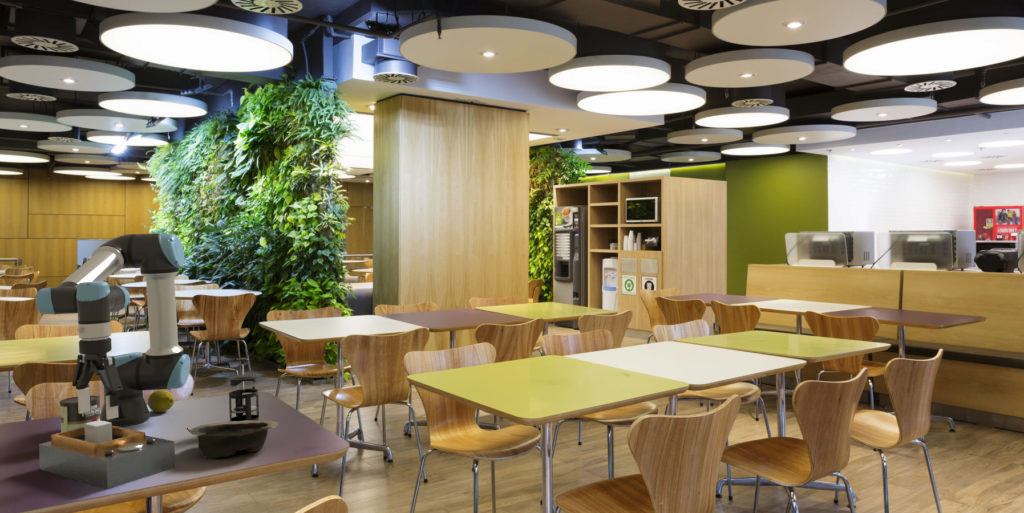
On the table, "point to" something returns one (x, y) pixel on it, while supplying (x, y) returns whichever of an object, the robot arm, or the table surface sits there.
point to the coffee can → (72, 416)
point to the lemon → (160, 401)
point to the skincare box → (98, 431)
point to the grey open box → (106, 456)
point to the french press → (239, 397)
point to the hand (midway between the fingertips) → (98, 415)
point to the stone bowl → (231, 437)
